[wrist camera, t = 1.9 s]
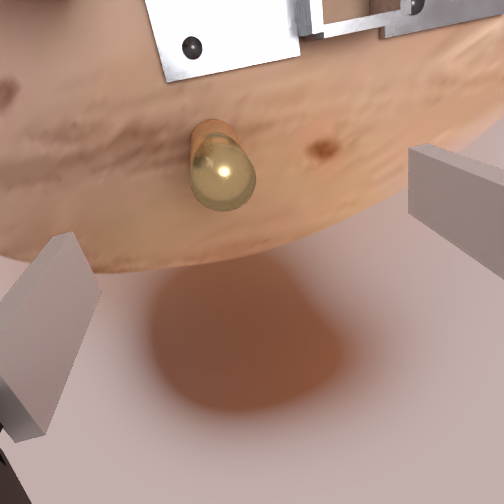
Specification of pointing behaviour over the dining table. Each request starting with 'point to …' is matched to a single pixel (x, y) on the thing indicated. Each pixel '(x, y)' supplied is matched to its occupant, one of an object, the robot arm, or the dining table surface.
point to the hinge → (281, 28)
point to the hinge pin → (220, 167)
